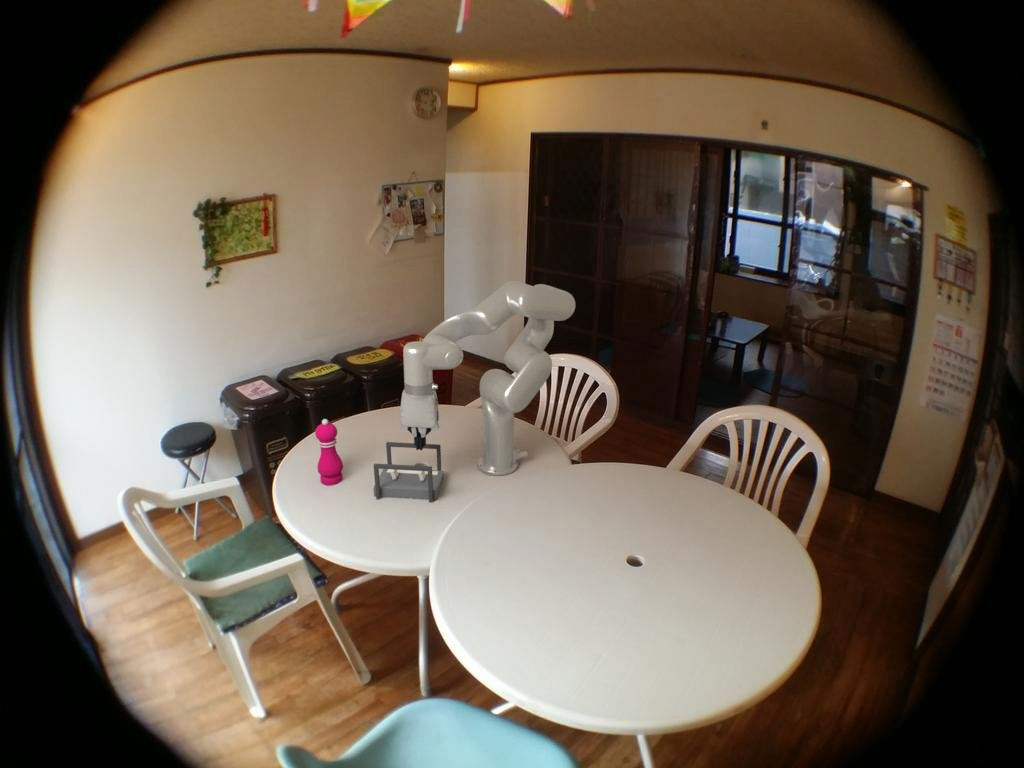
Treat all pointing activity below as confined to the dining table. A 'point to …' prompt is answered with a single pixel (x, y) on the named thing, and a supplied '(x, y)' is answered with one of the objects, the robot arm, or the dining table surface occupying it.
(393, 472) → the paddle
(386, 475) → the breaker panel
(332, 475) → the pepper mill
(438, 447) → the dark grey open frame
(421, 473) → the cream cuboid
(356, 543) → the dining table surface
